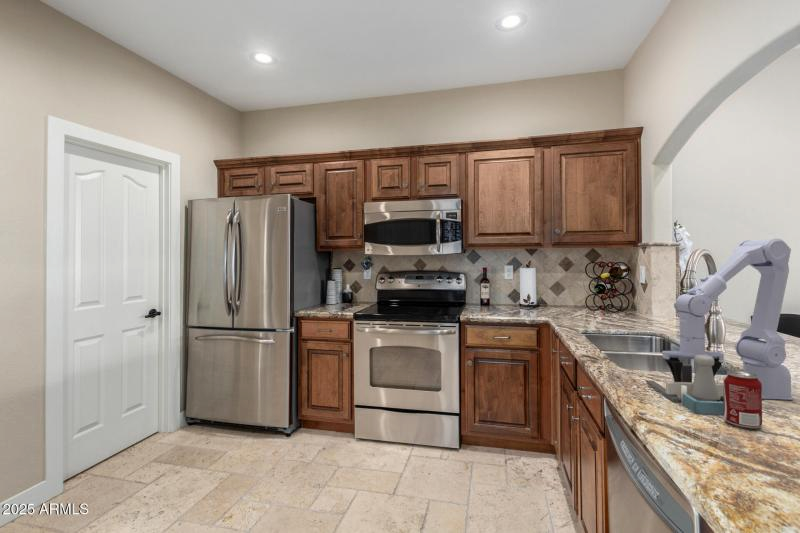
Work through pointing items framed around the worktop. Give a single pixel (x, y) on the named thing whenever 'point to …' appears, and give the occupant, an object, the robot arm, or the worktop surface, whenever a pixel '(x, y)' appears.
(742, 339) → the robot arm
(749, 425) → the soda can
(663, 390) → the rails
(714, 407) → the frame
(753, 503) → the worktop surface
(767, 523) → the worktop surface
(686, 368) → the pusher bar
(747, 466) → the worktop surface
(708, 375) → the salt shaker
